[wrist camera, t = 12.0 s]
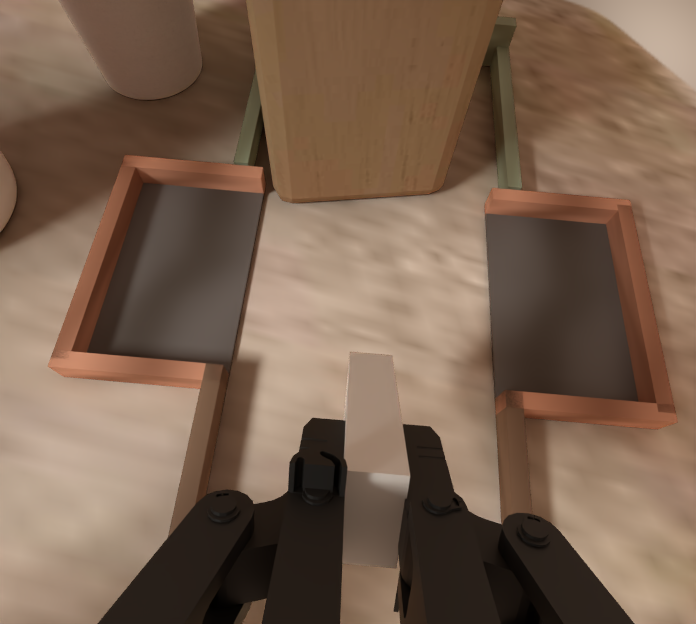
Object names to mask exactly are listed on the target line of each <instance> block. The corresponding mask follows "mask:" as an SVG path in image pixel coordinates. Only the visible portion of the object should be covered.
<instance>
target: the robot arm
mask: <svg viewBox="0 0 696 624" xmlns="http://www.w3.org/2000/svg"><path fill="white" fill-rule="evenodd" d="M398 554H399V564H400V573H399V580H398V586H397V593H396V599H395V606H394V612H398V611H399V614H400V624H634V623H633V621H632V620H631V619H630V618H629V616H628V615H627V614H626V613H625V611H624V610H623V609H622V608H621V606H620V605H619V604H618V603H617V602H616V600H615V599H614V598H613V597H612V595H611V594H610V593H609V592H608V590H607V589H606V588H605V587H604V585H603V584H602V583H601V582H600V581H599V579H598V578H597V577H596V576H595V574H594V573H593V572H592V571H591V569H590V568H589V567H588V566H587V564H586V563H585V562H584V561H583V560H582V558H581V557H580V556H579V555H578V553H577V552H576V551H575V550H574V548H573V547H572V546H571V545H570V543H569V542H568V541H567V540H566V538H565V537H564V536H563V535H562V534H561V532H560V531H559V530H558V529H557V528H556V527H555V526H553V525H552V524H551V523H550V522H548V521H546V520H545V519H543V518H541V517H539V516H536V515H532V514H529V513H514V514H511V515H508V516H507V517H506V518H505V519H504V521H503V524H502V525H501V524H498V523H495V522H492V521H489V520H486V519H483V518H481V517H478V516H476V515H474V514H473V513H471V512H469V511H468V509H467V506H466V504H465V502H464V501H463V499H462V498H461V497H460V496H459V495H457V494H456V493H455V492H454V489H453V485H452V481H451V478H450V474H449V470H448V466H447V463H446V460H445V455H444V452H443V448H442V444H441V440H440V437H439V436H438V435H437V434H436V433H435V431H434V430H433V429H432V428H431V427H430V426H418V425H406V424H402V418H401V411H400V404H399V398H398V391H397V384H396V378H395V371H394V364H393V358H392V355H382V354H370V353H358V352H350V356H349V367H348V378H347V389H346V400H345V411H344V420H332V419H320V418H312V419H311V420H310V421H309V422H308V423H307V424H306V425H305V426H304V429H303V434H302V440H301V444H300V449H299V452H298V453H297V454H295V455H294V456H293V457H292V459H291V461H290V465H289V485H288V491H287V493H285V494H284V495H283V496H281V497H279V498H277V499H275V500H272V501H268V502H264V503H258V504H253V501H252V500H251V499H250V498H249V497H248V496H247V495H246V494H244V493H241V492H239V491H234V490H221V491H215V492H213V493H210V494H208V495H206V496H204V497H203V498H202V499H201V500H199V501H198V502H197V503H196V504H195V506H194V507H193V508H192V509H191V510H190V512H189V513H188V514H187V515H186V517H185V518H184V519H183V520H182V521H181V523H180V524H179V525H178V526H177V528H176V529H175V530H174V531H173V532H172V534H171V535H170V536H169V537H168V539H167V540H166V541H165V542H164V543H163V545H162V546H161V547H160V548H159V549H158V551H157V552H156V553H155V554H154V556H153V557H152V558H151V559H150V560H149V562H148V563H147V564H146V565H145V567H144V568H143V569H142V570H141V571H140V573H139V574H138V575H137V576H136V578H135V579H134V580H133V581H132V582H131V584H130V585H129V586H128V587H127V589H126V590H125V591H124V592H123V593H122V595H121V596H120V597H119V598H118V600H117V601H116V602H115V603H114V604H113V606H112V607H111V608H110V609H109V611H108V612H107V613H106V614H105V615H104V617H103V618H102V619H101V620H100V622H99V623H98V624H242V622H243V620H244V618H245V616H246V615H247V613H248V611H249V609H250V605H251V602H253V601H257V600H261V599H266V598H267V600H266V605H265V610H264V615H263V620H262V624H340V607H341V581H342V564H350V565H362V566H374V567H386V568H397V561H398Z"/></svg>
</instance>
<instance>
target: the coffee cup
mask: <svg viewBox="0 0 696 624" xmlns="http://www.w3.org/2000/svg"><path fill="white" fill-rule="evenodd" d="M59 2H60V4H61V5H62V7H63V9H64V10H65V12H66V14H67V15H68V17H69V19H70V21H71V22H72V24H73V26H74V27H75V29H76V31H77V33H78V34H79V36H80V38H81V39H82V41H83V43H84V44H85V46H86V48H87V50H88V51H89V53H90V55H91V56H92V58H93V60H94V61H95V63H96V65H97V67H98V68H99V70H100V72H101V73H102V75H103V77H104V79H105V80H106V82H107V83H108V85H109V86H110V87H111V88H112V89H113V90H115V91H116V92H118V93H119V94H121V95H124V96H126V97H130V98H134V99H140V100H155V99H161V98H166V97H169V96H172V95H175V94H177V93H179V92H181V91H183V90H185V89H186V88H188V87H189V86H190V85H191V84H192V83H193V82H194V81H195V80H196V79H197V78H198V76H199V74H200V72H201V69H202V55H201V49H200V43H199V36H198V30H197V24H196V18H195V12H194V5H193V0H59Z"/></svg>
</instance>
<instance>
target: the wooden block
mask: <svg viewBox="0 0 696 624" xmlns="http://www.w3.org/2000/svg"><path fill="white" fill-rule="evenodd" d="M502 2H503V0H246V5H247V12H248V18H249V25H250V32H251V39H252V46H253V52H254V59H255V66H256V73H257V79H258V86H259V93H260V100H261V106H262V113H263V120H264V127H265V134H266V140H267V147H268V154H269V161H270V167H271V174H272V181H273V187H274V188H275V190H276V192H277V193H278V195H279V196H280V198H281V199H282V201H286V202H290V203H301V202H316V201H331V200H346V199H360V198H375V197H390V196H405V195H420V194H430V193H432V192H435V191H437V190H439V189H440V188H441V187H442V186H443V184H444V180H445V177H446V174H447V171H448V168H449V165H450V162H451V159H452V156H453V153H454V150H455V147H456V143H457V140H458V137H459V134H460V131H461V128H462V125H463V122H464V119H465V116H466V113H467V110H468V106H469V103H470V100H471V97H472V94H473V91H474V88H475V85H476V82H477V79H478V76H479V73H480V69H481V66H482V63H483V60H484V57H485V54H486V51H487V48H488V45H489V42H490V39H491V36H492V32H493V29H494V26H495V23H496V20H497V17H498V14H499V11H500V8H501V5H502Z"/></svg>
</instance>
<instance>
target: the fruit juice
mask: <svg viewBox="0 0 696 624" xmlns="http://www.w3.org/2000/svg"><path fill="white" fill-rule="evenodd" d="M16 199H17V185H16V180H15V177H14V174H13V171H12V169H11V167H10V165H9V163H8V162H7V160H6V158H5V157H4V155H3V154H2V152H1V151H0V232H1V231H2V230H3V228H4V227H5V225H6V224H7V222H8V221H9V219H10V217H11V215H12V213H13V210H14V207H15V204H16Z"/></svg>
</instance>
